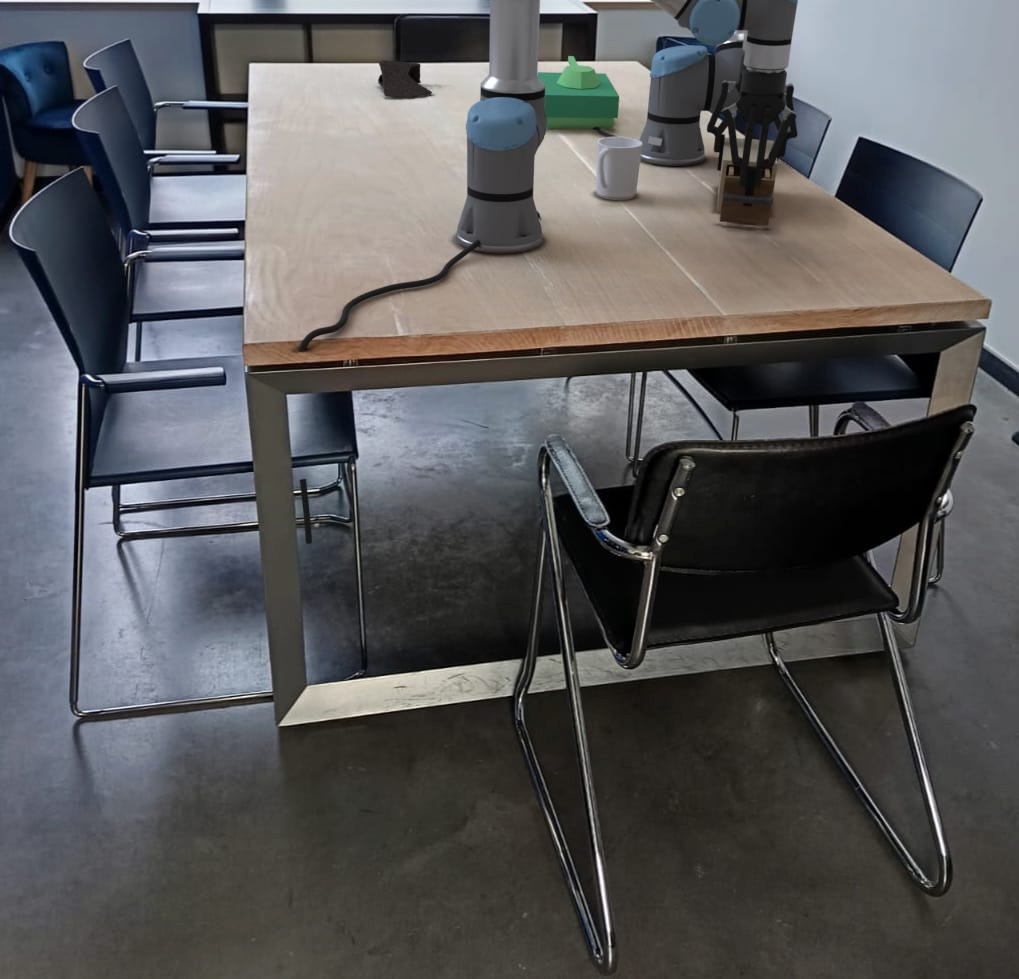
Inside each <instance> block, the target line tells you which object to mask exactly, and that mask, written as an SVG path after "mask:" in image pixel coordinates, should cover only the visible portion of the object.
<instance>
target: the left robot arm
mask: <svg viewBox="0 0 1019 979" xmlns="http://www.w3.org/2000/svg"><path fill="white" fill-rule="evenodd" d="M649 1H650V2H652V3H653V4H654V5H656V6H657V7H658V8H660V9H661V10H663V11H664V12H665V13H666V14H668V15H669V16H671V17H672V18H673V19H674V20H676V21H677V24H678V26H679V27H680V28H684V29H687V30H689V31H690V32H691V34H692V35H693V37H694V38H695V39H696V40H697V41H699V42H700V43H702V44H704V45H707V46H712V47H713V46H717V45H720V44H722V43H724V42H726V41H727V40H729V39H730V38H731V37H732V36H733V35H734V33H735V31H736V30H742V31H743V30H747V31H748V33H747V41H746V48H745V56H744V65H745V66H746V68H745V69H744V70H743V72H742V80H741V89H740V94H739V96H738V98H737V99H736V103H735V104H733V105H731V106H729V107H724V109H723V112H722V116H723V119H724V118H725V120H726V122H727V124H728V127H727V131H728V138H729V141H730V149H731V158H732V164H733V165H737V166H739V167H740V168H741V172H740V180H739V184H740V186H744V187H745V190H744V195H746V196H753V191H754V187H760V185H761V179H762V172H763V170H764V169H765V168H767V167H773V165H774V163H775V161H776V158H777V156H778V153H779V151H780V148H781V146H782V143H783V140H784V138H785V135H786V133H787V131H789V129H790V125H791V124H792V123H793V122H794V120H795V121H796V119H797V113H796V111H795V110H794V111H793V110H792V111H791V110H790V109H789V108H788V107H787V105H786V99H785V97H784V91H785V84H786V85H787V77H788V72H787V70H786V69H787V68H788V67H789V64H790V57H791V56H790V55H791V49H792V41H793V34H794V27H795V21H796V15H797V8H798V3H799V0H649ZM489 2H490V3H489V4H490V5H489V54H488V55H489V58H488V60H489V64H488V75H487V76H486V77H485V78H484V79H483V80H482V81H481V82H480V91H479V92H480V93H479V94H480V96H479V97H480V98H479V99H480V100H478V101H477V102H475V103H474V104H473V105H471V106H470V108H469V109H468V111H467V119H466V123H465V130H466V192H467V193H466V198H465V202H464V205H463V209H462V211H461V214H460V218H459V220H458V224H457V228H456V241H457V243H458V244H459V245H461V246H462V247H464V249H463V250H462V251H460V252H459V253H458V254H456V255H455V256H454V257H452V258H451V259H450V260H448V262H446V264H445V265H444V266H443V268H442V269H441V271H440V272H439V273H437V274H436V275H433V276H431V277H428V278H423V279H419V280H412V281H405V282H399V283H393V284H389V285H385V286H381V287H378V288H374V289H372V290H369V291H366V292H364V293H362V294H360V295H358V296H356V297H355V298H353V299H352V300H350V301H349V302H347V303H346V304H345V305H344V307H343V309H342V311H341V316H340V318H339V320H338V321H337V322H336V323H335V324H333V325H329V326H323V327H320V328H316V329H314V330H312V331H311V332H309V333H308V334H307V335H306V336H305V337H304V338H303V339H302V341H301V342H300V344H299V346H298V348H297V352H300V353H302V352H305V351H306V350H307V348H308V346H309V344H310V343H311V342H312V341H313V340H314V339H315V338H318V337H320V336H324V335H328V334H333V333H336V332H339V330H341V329H342V328H343V327H344V326H345V325H346V323H347V322H348V318H349V313H350V311H351V310H352V309H353V308H354V307H355V306H357V305H358V304H360V303H362V302H364V301H366V300H369V299H371V298H375V297H378V296H381V295H383V294H386V293H391V292H394V291H399V290H406V289H414V288H420V287H424V286H425V287H426V286H429V285H432V284H435V283H437V282H440V281H441V280H443V279H444V278H445V277H447V275H448V273H449V271H450V270H451V268H452V267H453V266H454V265H456V264H457V263H458V262H460V260H462V259H463V258H465V257H466V256H467V255H468V254H470V253H471V252H473V251H475V252H479V253H486V254H497V255H499V254H500V255H506V254H507V255H508V254H517V253H524V252H527V251H530V250H533V249H536V248H538V247H539V246H540V245H541V244H542V243H543V229H542V224H541V221H542V218H541V214H540V212H539V211H538V210H537V206H536V204H535V199H534V184H535V181H534V180H535V158H536V154H537V151H538V149H539V148H540V146H541V145H542V143H543V141H544V139H545V136H546V133H547V117H546V112H545V84H544V83H543V82H542V81H541V79H540V78H539V77H538V71H539V70H538V68H539V67H538V66H539V43H540V42H539V38H540V14H541V11H540V10H541V0H489ZM737 110H739V112H738V113H739V114H740V115H741V117H742V119H743V120H744V122H745V123H746V125H745V128H746V129H745V133H744V134H745V135H744V139H745V141H744V148H743V156H742V158H741V157H739V155H738V146H737V138H738V137H737V130H736V129H737V128H736V121H735V119H736V117H737V114H738V113H736V111H737ZM781 113H782V114H781ZM778 115H779V116H780V115H781V116H780V118H781V121H782V123H781V125H780V128H779V130H777V133H776V135H775V138H774V140H773V141H774V143H773V145H772V148H771V151H770V153H769V156H768V158H767V159H764V158H765V151H766V144H767V140H768V136H769V130H770V124H772V123H774V120H775V119H776V117H777V116H778ZM755 125H759V126H760V132H759V139H758V140H759V146H758V154H757V162H756V167H754V166H749V159H750V152H751V144H752V139H753V137H754V129H755ZM743 206H750V207H751V206H752V203H743ZM307 484H308V482H307V478H301V479H299V487H300V494H301V496H300V497H301V502H302V503H301V505H302V514H303V522H304V523H303V524H304V525H303V526H304V538H305V544H306V545H311V544H313V536H312V535H313V534H312V523H311V511H310V503H309V502H310V501H309V492H308V485H307Z"/></svg>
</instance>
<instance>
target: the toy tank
mask: <svg viewBox="0 0 1019 979" xmlns="http://www.w3.org/2000/svg"><path fill="white" fill-rule="evenodd" d="M567 63H568V65H567V66H566V67H564V69H563V70H562V72H551V71H549V72H548V71H547V72H545V71H544V72H543V71H542V72H541V71H537V75H538V77H539V78H540V79H541V81H542V82H543V83H544V84H545V112H546V117H547V129H548V130H593V128H595V127H598V128H600V129H601V130H613V129H614V126H615V119H619V107H620V95H619V94H618V91H617V90H616V88H615V87H614V85H613V84H612V81H611V80H610V78H609V77H608V75H607V74H606V73H601V72H600V73H599V72H598V73H597V72H596V70H595V68H593V67H591V66H589V65H580V64H578V62H577V61H576V58H575V56H573V55H568V56H567ZM547 129H546V130H547Z"/></svg>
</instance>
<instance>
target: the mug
mask: <svg viewBox="0 0 1019 979" xmlns="http://www.w3.org/2000/svg"><path fill="white" fill-rule="evenodd" d="M641 151H642V142H641V141H640V139H638V138H633V137H629V136H628V137H627V136H618V137H606V136H604V137H600V138H598V139H597V140H596V181H595V182H596V183H595V192H596V195H597V196H598V197H600V198H603V199H606V200H611V201H613V200H614V201H624V200H630V199H633V198H635V197H636V196H637V190H638V189H637V188H638V182H639V174H640V165H641V160H640V159H641Z"/></svg>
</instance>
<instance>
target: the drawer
mask: <svg viewBox="0 0 1019 979" xmlns="http://www.w3.org/2000/svg"><path fill="white" fill-rule="evenodd" d="M754 167H756V166H754ZM740 172H741V168H740V167H739V166H737V165H729V167H728V175H727V176H725V182H724V190H723V198H722V206H721V213H720V216H719V222H721V223H734V224H735V223H736V224H748V225H761V226H769V224H770V217H771V212H770V210H771V211H772V206H773V204H774V192H773V190H774V191H775V185H774V183H776V179H770V168H769V167H767V168H765V169H764V170H763V172H762V179H761V185H760V187H754V191H753V196H746V195H744V190H745V187H744V186H740V184H739V180H740ZM743 203H752V206H751V207H750V206H743Z"/></svg>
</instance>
